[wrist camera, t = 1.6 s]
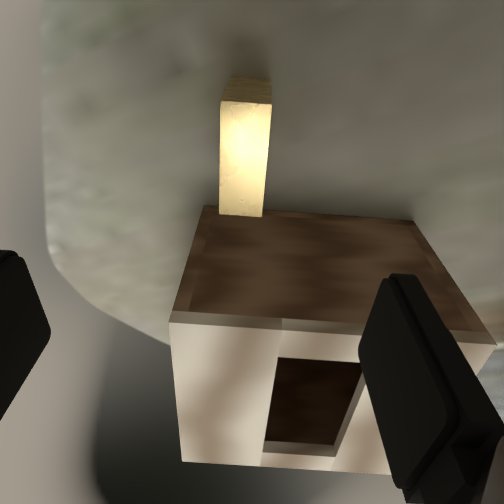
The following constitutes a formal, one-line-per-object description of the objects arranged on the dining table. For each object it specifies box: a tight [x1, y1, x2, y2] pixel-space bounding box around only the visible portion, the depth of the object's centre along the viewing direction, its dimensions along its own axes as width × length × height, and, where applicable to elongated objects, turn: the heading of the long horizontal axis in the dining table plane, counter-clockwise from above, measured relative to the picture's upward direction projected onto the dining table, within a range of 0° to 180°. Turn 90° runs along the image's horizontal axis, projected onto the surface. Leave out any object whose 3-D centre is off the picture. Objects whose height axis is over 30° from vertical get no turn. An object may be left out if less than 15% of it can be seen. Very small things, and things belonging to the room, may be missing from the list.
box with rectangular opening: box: [168, 206, 497, 475], centre depth 26 cm, size 16×14×12 cm
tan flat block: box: [219, 77, 272, 217], centre depth 21 cm, size 2×6×6 cm, turn 176°
